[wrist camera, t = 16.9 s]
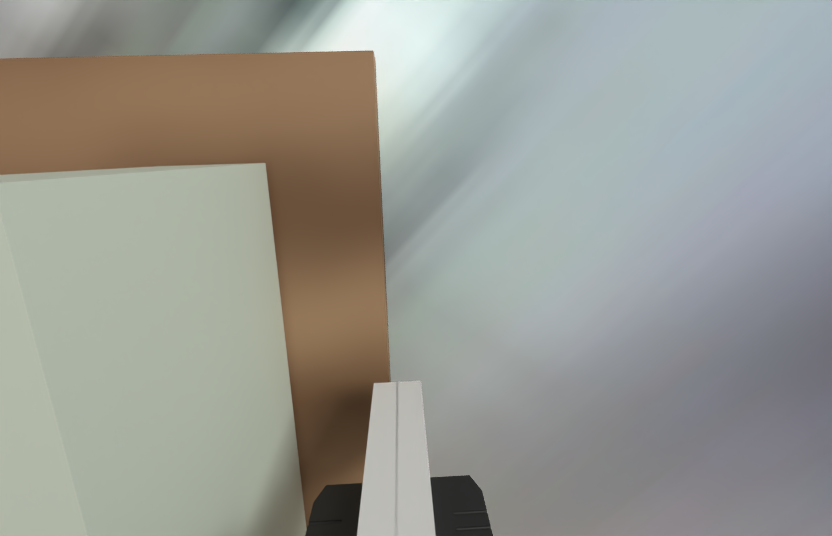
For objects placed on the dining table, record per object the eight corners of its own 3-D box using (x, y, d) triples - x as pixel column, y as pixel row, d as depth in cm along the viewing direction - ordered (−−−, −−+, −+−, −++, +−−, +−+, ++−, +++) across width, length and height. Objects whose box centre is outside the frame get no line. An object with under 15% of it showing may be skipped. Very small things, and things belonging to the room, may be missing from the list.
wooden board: (-375, 76, 13) (-651, 48, 10) (375, 59, 14) (367, 28, 10) (-122, 639, 18) (-237, 747, 15) (401, 606, 19) (402, 702, 16)
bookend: (161, 165, 13) (-338, 194, 4) (265, 162, 13) (-6, 183, 4) (234, 592, 17) (61, 1059, 8) (313, 587, 17) (224, 1044, 8)
